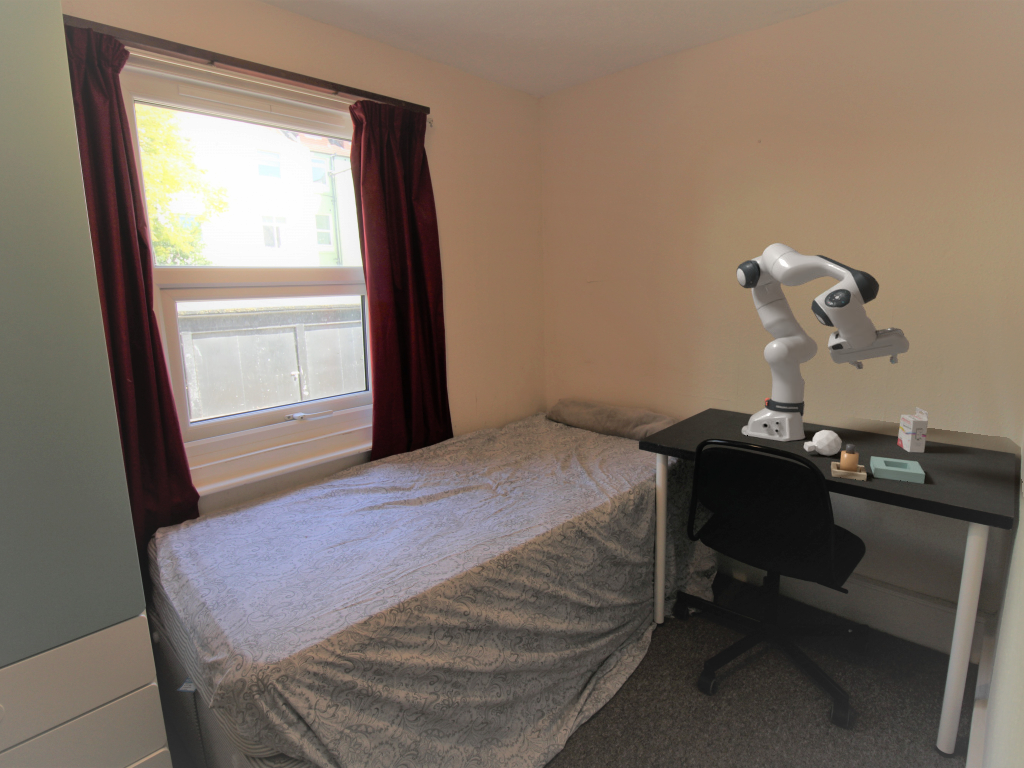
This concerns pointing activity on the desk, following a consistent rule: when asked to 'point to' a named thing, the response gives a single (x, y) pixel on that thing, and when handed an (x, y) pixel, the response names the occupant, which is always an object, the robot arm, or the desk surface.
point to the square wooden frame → (848, 472)
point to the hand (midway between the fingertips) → (877, 364)
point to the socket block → (897, 469)
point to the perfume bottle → (824, 443)
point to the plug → (849, 459)
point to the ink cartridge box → (913, 431)
